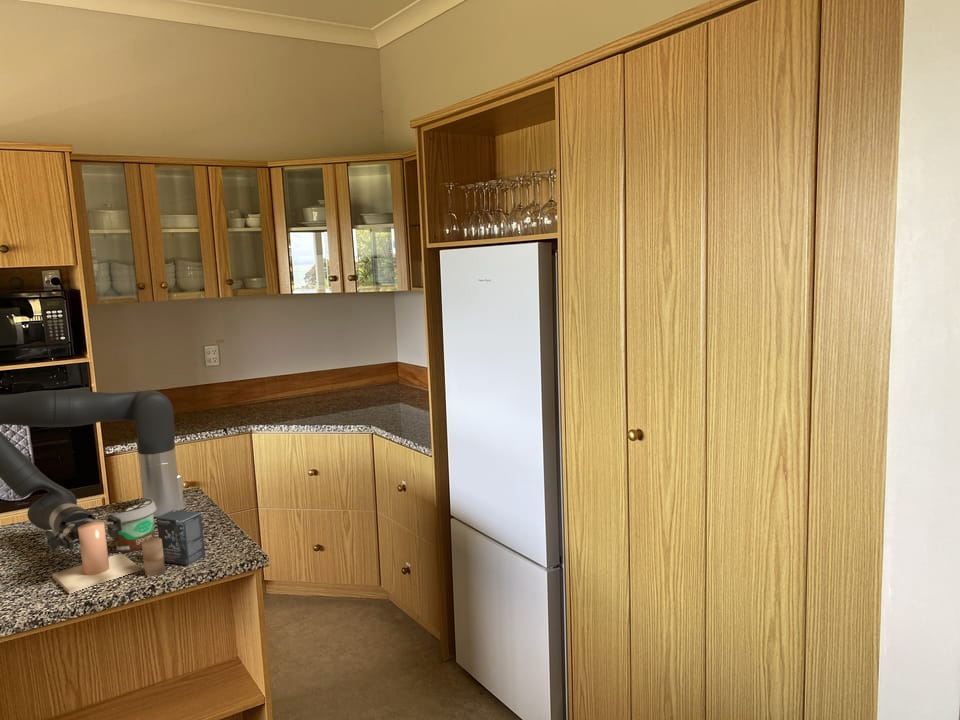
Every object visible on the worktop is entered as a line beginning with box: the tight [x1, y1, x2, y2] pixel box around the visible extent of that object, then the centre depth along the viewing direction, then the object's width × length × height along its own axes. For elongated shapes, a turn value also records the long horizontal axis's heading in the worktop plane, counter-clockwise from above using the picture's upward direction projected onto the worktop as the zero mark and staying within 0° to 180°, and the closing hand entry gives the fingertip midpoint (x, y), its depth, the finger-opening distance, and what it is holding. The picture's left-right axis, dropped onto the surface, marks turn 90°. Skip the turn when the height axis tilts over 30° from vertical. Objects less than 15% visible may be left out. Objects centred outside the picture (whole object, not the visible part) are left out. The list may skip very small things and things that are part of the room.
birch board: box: [52, 553, 141, 595], centre depth 154 cm, size 14×12×1 cm
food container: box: [108, 498, 156, 554], centre depth 169 cm, size 12×6×10 cm, turn 165°
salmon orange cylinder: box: [78, 522, 109, 575], centre depth 154 cm, size 5×5×10 cm
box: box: [156, 509, 206, 567], centre depth 160 cm, size 8×6×11 cm
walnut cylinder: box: [141, 537, 166, 577], centre depth 154 cm, size 4×4×7 cm
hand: (93, 539), depth 152 cm, fingers open, 8 cm apart
